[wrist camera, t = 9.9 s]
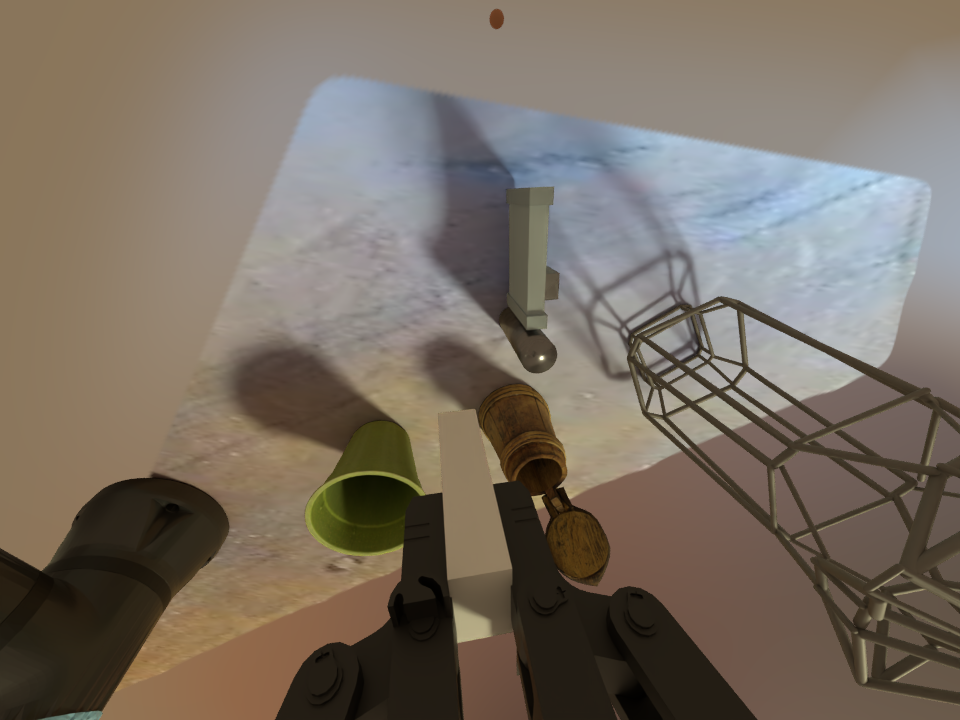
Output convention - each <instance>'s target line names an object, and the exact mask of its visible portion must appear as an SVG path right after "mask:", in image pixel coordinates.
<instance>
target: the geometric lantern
mask: <svg viewBox="0 0 960 720" xmlns="http://www.w3.org/2000/svg"><path fill="white" fill-rule="evenodd" d="M719 302H721V303H723V305H720V306H717V307H713V308H710V309H707V310H704V309H706V308H708V307H710V306H712V305H715V304H717V303H719ZM728 306H729V307H731V308H733V309H735V310H737V316H738V326H739V335H740V345H741V354H742V363H739V362H736V361H732V360H729V359H726V358H722V357H719V356H715V355H714V352H713V348H712V345H711V342H710V338H709V335H708V332H707V328H706V325H705V322H704V318H703V315H702V314H704V313H708V312H711V311H715V310H718V309H721V308H725V307H728ZM680 308H681V309H682V310H684V311H687V312H685V313H683V314H681V315H678V316H676V317H674V318H672V319H670V320H667V321H665V322H663V323H661V324H659V325H656V326H654V327H652V328H650V329H648V330H646V331H643V332H641V331H642V330H644V329H646V328H648V327H649V326H651V325H653V324H655V323H656V322H658V321H660V320H661V319H663V318H665V317H667V316H668V315H670V314H672V313H673V312H675V311H677V310H679V309H680ZM688 308H689V309H688ZM701 310H703V311H701ZM743 313H744V314H746V315H748V316H750V317H752V318H754V319H756V320H758V321H760V322H762V323H764V324H766V325H769V326H771V327H773V328H775V329H777V330H779V331H781V332H783V333H785V334H787V335H789V336H791V337H793V338H795V339H798V340H800V341H802V342H804V343H806V344H808V345H810V346H812V347H814V348H816V349H818V350H820V351H822V352H825V353H826V354H828V355H830V356H832V357H834V358H836V359H838V360H840V361H841V362H843V363H845V364H847V365H849V366H851V367H853V368H854V369H856V370H858V371H860V372H862V373H864V374H866V375H868V376H869V377H871V378H873V379H875V380H877V381H879V382H881V383H882V384H884V385H886V386H888V387H890V388H892V389H894V390H896V391H898V392H900V393H902V394H903V395H905V396H902V397H900V398H898V399H895V400H893V401H890V402H888V403H886V404H883V405H880V406H878V407H876V408H873V409H871V410H868V411H866V412H864V413H861V414H859V415H856V416H854V417H851V418H849V419H846V420H844V421H842V422H839V423H837V424H834V425H833V424H832V423H830V422H829V421H828V420H826V419H825V418H823V417H821V416H820V415H819V414H817V413H816V412H814V411H813V410H811V409H810V408H808V407H807V406H805V405H803V404H802V403H801V402H799V401H798V400H796V399H795V398H793V397H792V396H790V395H789V394H787V393H786V392H784V391H783V390H781V389H780V388H778V387H777V386H775V385H774V384H772V383H771V382H770V381H768V380H767V379H765V378H764V377H762V376H761V375H759V374H758V373H757V372H755V371H754V370H752V369H751V368H749V367H748V357H747V346H746V336H745V325H744V314H743ZM694 314H697V315H699V318H700V321H701V324H702V328H703V331H704V334H705V338H706V341H707V344H708V347H709V350H707V349H706V348H704V346H703V343H702V339H701V336H700V332H699V329H698V325H697V322H696V318H695V315H694ZM690 316H691V317H692V321H693V324H694V328H695V331H696V334H697V338H698V341H699V345H700V348H699V351H698V353H697V355H695V356H694V357H692V358H690V359H688V360H686V361H685V362H683V363H682V362H681V361H679V360H678V359H676V358H675V357H674V356H672V355H671V354H669V353H668V352H667V351H665V350H664V349H662V348H661V347H659V346H658V345H657V344H655V343H654V342H652V341H651V340H649V339H650V338H652V337H653V336H655V335H657V334H659V333H661V332H663V331H664V330H666V329H668V328H670V327H672V326H673V325H675V324H677V323H679V322H681V321H683V320H684V319H686V318H688V317H690ZM657 330H658V331H657ZM655 331H656V332H655ZM639 332H641V333H639ZM653 332H654V333H653ZM637 333H639V334H637ZM651 333H652V334H651ZM636 334H637V335H636ZM649 334H651V335H649ZM635 335H636V336H635ZM646 335H649V336H647V337H645V336H646ZM633 338H634V341H633ZM632 341H633V344H632ZM643 342H645V343H646V344H647V345H649V346H650V347H651V348H653V349H654V350H655V351H657V352H658V353H660V354H661V355H662V356H664V357H665V358H666V359H668V360H669V361H670V362H672V363H673V364H674V365H676V367H674V368H672V369H670V370H669V371H667V372H665V373H663V374H662V375H660V376H658V375H656V374H655V373H653V372H652V371H651V370H649V369H648V368H647V366H646V364H645V361H644V359H643V356H642V354H641V351H640V349H639V348H640V345H641V343H643ZM629 346H630V351H629V353H628V356H627V361H628V365H629V368H630V372H631V375H632V379H633V382H634V386H635V389H636V393H637V396H638V400H639V403H640V407H641V410H642V414H643V415H644V416H645V417H646V418H647V419H648V420H649V421H650V422H651V423H652V424H653V425H654V426H656V427H657V428H658V429H659V430H660V431H661V432H662V433H663V434H664V435H665V436H666V437H668V438H669V439H670V440H671V441H672V442H673V443H674V444H675V445H676V446H677V447H679V448H680V449H681V450H682V451H683V452H684V453H685V454H686V455H687V456H688V457H689V458H691V459H692V460H693V461H694V462H695V463H696V464H697V465H698V466H699V467H700V468H702V469H703V470H704V471H705V472H706V473H707V474H708V475H709V476H710V477H711V478H713V479H714V480H715V481H716V482H717V483H718V484H719V485H720V486H721V487H723V489H725V490H726V491H727V492H728V493H729V494H730V495H731V496H732V497H733V498H735V499H736V500H737V501H738V502H739V503H740V504H741V505H742V506H743V507H744V508H745V509H747V510H748V511H749V512H750V513H751V514H752V515H753V516H754V517H755V518H756V519H757V520H758V521H759V522H760V523H762V524H763V525H764V526H765V527H766V528H767V529H768V530H769V531H770V532H771V533H772V534H774V535H775V536H776V537H777V538H778V540H779V541H780V542H781V544H782V545H783V546H784V547H785V549H786V550H787V551H788V552H789V553H790V555H791V556H792V557H793V558H794V560H795V561H796V562H797V564H798V565H799V566H800V567H801V568H802V570H803V571H804V572H805V574H806V575H807V576H808V577H809V579H810V580H811V581H812V582H813V584H814V586H813V587H814V589H815V590H816V591H817V592H818V594H819V595H820V596H821V598H822V600H823V603H824V605H825V608H826V610H827V613H828V615H829V617H830V620H831V622H832V625H833V627H834V630H835V632H836V635H837V637H838V640H839V642H840V645H841V647H842V650H843V652H844V654H845V657H846V659H847V662H848V664H849V667H850V669H851V672H852V674H853V677H854V679H855V681H856V683H857V684H858V685H860V686H862V687H864V688H868V689H874V690H879V691H884V692H890V693H896V694H901V695H906V696H912V697H917V698H922V699H928V700H933V701H939V702H944V703H950V704H955V705H960V692H954V691H948V690H941V689H935V688H929V687H923V686H917V685H911V684H905V683H899V682H894V681H896V680H898V679H899V678H901V677H902V676H904V675H906V674H907V673H909V672H911V671H912V670H914V669H916V668H917V667H919V666H921V665H922V664H924V663H926V662H927V661H932V662H935V663H939V664H942V665H945V666H948V667H951V668H954V669H958V670H960V658H957V657H954V656H951V655H948V654H945V653H941V652H939V651H938V650H937V648H940V647H942V648H944V649H947V650H949V651H952V652H955V653H957V654H960V629H959V628H957V627H955V626H953V625H950V624H948V623H946V622H944V621H942V620H940V619H938V618H935V617H933V616H931V615H929V614H927V613H925V612H922V611H920V610H918V609H916V608H914V607H912V606H910V605H907V604H905V603H903V602H901V601H899V600H897V598H896V597H895V596H896V595H901V594H906V593H911V592H916V591H921V590H927V591H929V592H931V593H933V594H935V595H937V596H939V597H941V598H943V599H944V600H946V601H948V602H949V603H950V604H951V606H952V607H953V608H955V610H956V611H957V612H959V614H960V594H959V593H957V592H955V591H960V582H953V581H947V580H943V578H942V576H941V574H940V572H939V570H938V568H937V565H939V564H941V563H943V562H944V561H946V560H948V559H950V558H951V557H953V556H955V555H957V554H958V553H960V531H959V532H958V533H956V534H954V535H952V536H951V537H949V538H947V539H945V540H944V541H942V542H940V543H938V544H937V545H935V546H933V547H931V548H930V549H927V547H926V546H927V542H928V539H929V536H930V533H931V530H932V526H933V523H934V520H935V517H936V514H937V510H938V507H939V504H940V501H941V497H942V495H944V496H950V497H956V498H960V494H957V493H951V492H945V491H944V488H945V484H946V481H947V479H948V478H950V477H952V476H956V477H958V478H960V456H958V457H956V458H954V459H953V460H951V461H949V462H947V463H945V464H944V463H938V464H937V465H936V467H937V468H936V467H932V466H929V462H930V458H931V454H932V450H933V446H934V442H935V438H936V434H937V430H938V426H939V423H940V419H941V417H942V418H943V419H944V420H945V421H946V422H947V423H948V424H950V425H951V426H952V427H953V428H954V429H955V430H956V431H957V432H958V433H959V434H960V425H959V424H958V423H957V422H956V421H955V420H954V419H953V418H951V417H950V416H949V415H948V414H947V413H946V412H945V411H947V412H949V413H951V414H953V415H954V416H956V417H958V418H960V409H959V408H958V407H956V406H954V405H952V404H950V403H949V402H947V401H945V400H943V399H941V398H939V397H933V395H932V394H930V392H931V390H930V389H929V388H922V389H921V388H918V387H916V386H914V385H912V384H910V383H908V382H905V381H903V380H901V379H899V378H897V377H895V376H892V375H890V374H888V373H886V372H884V371H882V370H879V369H877V368H875V367H873V366H871V365H869V364H866V363H864V362H862V361H860V360H858V359H856V358H853V357H851V356H849V355H847V354H845V353H843V352H840V351H838V350H836V349H834V348H832V347H830V346H827V345H825V344H823V343H821V342H819V341H817V340H815V339H813V338H811V337H809V336H807V335H805V334H803V333H801V332H799V331H797V330H795V329H793V328H792V327H790V326H788V325H786V324H784V323H782V322H780V321H778V320H776V319H774V318H772V317H770V316H768V315H766V314H764V313H762V312H760V311H758V310H756V309H754V308H752V307H751V306H749V305H747V304H745V303H743V302H741V301H739V300H736V299H732V298H727V297H722V296H721V297H717V298H715V299H713V300H711V301H709V302H707V303H705V304H702V305H700V306H698V307H696V308H692V306H691V305H679V306H678V307H676V308H674V309H672V310H671V311H669V312H667V313H666V314H664V315H662V316H660V317H659V318H657V319H655V320H654V321H652V322H650V323H648V324H647V325H645V326H643V327H642V328H640V329H638V330H636V331H635V332H633V333H631V335H630V340H629ZM702 350H703V351H705V352H706V353H708V354H710V355H711V356H710V357H709V359H708V360H707V359H705V358H704V357H703V356H701V355H700V354H701V352H702ZM636 352H637V353H638V355H639V358H640V360H641V363H642V364H641V363H640V362H639V359H638V357H637V354H636ZM633 356H634V358H635V359H634V358H632V357H633ZM698 357H699V358H700V359H702V360H703V361H704V363H702V364H700V365H699V366H697V367H695V368H693V369H690V368H689V367H688V366H686V365H685V364H687V363H689V362H691V361H692V360H694V359H696V358H698ZM713 358H715V359H718V360H722V361H725V362H728V363H732V364H735V365H738V366H742V367H743V369H742V370H741V372H740V373H739V374H738V376H737V377H736V378H735V379H734V381H733V382H732V381H731V380H730V379H729V378H728V377H727V376H726V375H725V374H723V373H722V372H721V371H720V370H719V369H718V368H717V367H716V366H715V365H714V364H712V363H711V360H712V359H713ZM707 364H709V365H710V366H711V367H712V368H713V369H714V370H715V371H717V372H718V373H719V374H720V375H721V376H722V377H723V378H724V379H725V380H726V381H727V382H729V383H730V385H728V386H726V387H724V388H721V389H719V388H717V387H716V386H714V385H713V384H712V383H710V382H709V381H707V380H706V379H705V378H703V377H702V376H700V375H699V374H698V373H696V372H695V371H696V370H698V369H700V368H701V367H703V366H705V365H707ZM634 365H635V366H636V367H638V368H639V370H640V372H641V375H642V377H643V380H644V381H645V382H646V383H647V384H648V385H650V386H651V390H650V393H649V397H648V400H647V403H646V407H645V403H644V400H643V396H642V392H641V389H640V385H639V381H638V378H637V374H636V371H635V367H634ZM678 368H680V369H681V370H683V371H684V372H685V373H684V374H682V375H681V376H679V377H677V378H675V379H673V380H672V381H670V382H668V383H667V382H666V381H664V380H663V379H662V377H664V376H666V375H667V374H669V373H671V372H673V371H674V370H676V369H678ZM644 372H645V373H646V375H647V377H648V379H646V377H645V374H644ZM746 372H748V373H750V374H751V375H752V376H754V377H755V378H757V379H758V380H759V381H761V382H762V383H763V384H765V385H766V386H768V387H769V388H771V389H772V390H774V391H775V392H776V393H778V394H779V395H781V396H782V397H784V398H785V399H787V400H788V401H789V402H791V403H792V404H794V405H795V406H797V407H798V408H800V409H801V410H803V411H804V412H805V413H807V414H808V415H810V416H811V417H813V418H814V419H816V420H817V421H818V422H820V423H821V424H823V425H824V426H826V427H827V428H825V429H822V430H820V431H817V432H815V433H813V434H810V435H806V434H805V433H803V432H802V431H800V430H799V429H797V428H796V427H794V426H793V425H792V424H790V423H789V422H787V421H786V420H784V419H783V418H781V417H780V416H778V415H777V414H776V413H774V412H773V411H771V410H770V409H768V408H767V407H765V406H764V405H762V404H761V403H759V402H758V401H757V400H755V399H754V398H752V397H751V396H749V395H748V394H746V393H745V392H743V391H742V390H740V389H739V388H738V387H736V385H737V384H738V382H739V381H740V380H741V379H742V377H743V376H744V375H745V374H746ZM687 375H689V376H691V377H692V378H694V379H695V380H696V381H698V382H699V383H700V384H702V385H703V386H704V387H706V388H707V389H708V390H710V391H711V392H713V393H710V394H708V395H706V396H704V397H701V398H699V399H697V400H695V401H691V400H690V399H689V398H687V397H686V396H685V395H683V394H682V393H681V392H679V391H678V390H676V389H675V388H674V387H672V386H671V384H673V383H674V382H676V381H678V380H680V379H682V378H683V377H685V376H687ZM657 382H658V383H659V384H660V385H661V386H660V385H659V384H658V383H657ZM654 384H655V385H656V386H654ZM664 388H665V389H667V390H668V391H669V392H671V393H672V394H673V395H675V396H676V397H677V398H678V399H680V400H681V401H682V402H684V403H685V404H686V405H684V406H682V407H679V408H677V409H675V410H673V411H671V412H668V413H666V411H665V406H664V401H663V396H662V392H661V390H662V389H664ZM654 389H657V390H658V393H659V398H660V403H661V408H662V413H663V415H658V414H653V413H649V412H648V408H649V405H650V401H651V398H652V395H653V391H654ZM730 389H732V390H734V391H735V392H737V393H738V394H739V395H741V396H742V397H744V398H745V399H746V400H748V401H749V402H751V403H752V404H754V405H755V406H756V407H758V408H759V409H761V410H762V411H763V412H765V413H766V414H768V415H769V416H771V417H772V418H773V419H775V420H776V421H778V422H779V423H780V424H782V425H783V426H785V427H786V428H788V429H789V430H790V431H792V432H793V433H795V434H796V435H797V436H799V437H800V439H798V440H796V441H794V442H793V441H791V440H790V439H789V438H787V437H786V436H785V435H783V434H782V433H780V432H779V431H778V430H776V429H775V428H773V427H772V426H771V425H769V424H768V423H766V422H765V421H764V420H762V419H761V418H760V417H758V416H757V415H755V414H754V413H753V412H751V411H750V410H748V409H747V408H745V407H744V406H743V405H741V404H740V403H738V402H737V401H736V400H734V399H733V398H731V397H730V396H729V395H727V394H726V393H724V392H726V391H728V390H730ZM715 396H718V397H719V398H721V399H722V400H723V401H725V402H726V403H727V404H729V405H730V406H732V407H733V408H734V409H736V410H737V411H738V412H740V413H741V414H742V415H744V416H745V417H747V418H748V419H749V420H751V421H752V422H753V423H755V424H756V425H758V426H759V427H760V428H762V429H763V430H765V431H766V432H767V433H769V434H770V435H772V436H773V437H774V438H776V439H777V440H779V441H780V442H781V443H783V444H784V445H786V446H787V447H788V448H787V449H786V450H784V451H783V452H782V453H781V454H779V455H778V456H777V457H776V458H774V459H773V460H771V459H769V458H768V457H767V456H765V455H764V454H763V453H761V452H760V451H759V450H757V449H756V448H755V447H753V446H752V445H751V444H749V443H748V442H747V441H745V440H744V439H743V438H741V437H740V436H739V435H737V434H736V433H734V432H733V431H732V430H731V429H729V428H728V427H727V426H725V425H724V424H722V423H721V422H720V421H718V420H717V419H716V418H714V417H713V416H712V415H710V414H709V413H708V412H706V411H705V410H704V409H702V408H701V407H699V406H698V405H697V404H699V403H702V402H704V401H706V400H708V399H710V398H713V397H715ZM911 400H915V401H917V402H919V403H920V404H922V405H924V406H926V407H928V408H930V409H933V412H932V416H931V420H930V425H929V429H928V433H927V438H926V442H925V446H924V450H923V454H922V459H921V463H920V464H915V463H909V462H904V461H898V460H892V459H887V458H883V457H881V456H880V455H878V454H877V453H875V452H874V451H872V450H871V449H869V448H868V447H866V446H864V445H863V444H862V443H860V442H859V441H857V440H856V439H854V438H853V437H851V436H850V435H848V434H847V433H845V432H844V431H842V430H841V429H842V428H844V427H847V426H849V425H852V424H854V423H857V422H859V421H862V420H864V419H866V418H869V417H871V416H874V415H876V414H879V413H881V412H884V411H886V410H889V409H891V408H893V407H896V406H898V405H901V404H903V403H906V402H908V401H911ZM688 408H691V409H693V410H694V411H695V412H697V413H698V414H699V415H701V416H702V417H703V418H705V419H706V420H707V421H708V422H710V423H711V424H712V425H714V426H715V427H716V428H718V429H719V430H720V431H721V432H723V433H724V434H726V435H727V436H728V437H730V438H731V439H732V440H733V441H734V442H736V443H737V444H738V445H740V446H741V447H742V448H744V449H745V450H746V451H747V452H749V453H750V454H751V455H753V456H754V457H755V458H757V459H758V460H759V461H760V462H762V463H763V464H764V465H766V466H767V473H768V487H769V502H770V515H768V514H767V513H766V512H765V511H764V510H763V509H762V508H761V507H760V506H759V505H758V504H757V503H756V502H755V501H754V500H753V499H752V498H751V497H750V496H749V495H747V493H746V492H745V491H743V490H742V489H741V488H740V487H739V486H738V485H737V484H736V483H735V482H734V481H733V480H732V479H731V478H730V477H729V476H728V475H727V474H726V473H725V472H724V471H723V470H722V469H721V468H719V467H718V466H717V465H716V464H715V463H714V462H713V461H712V460H711V459H710V458H709V457H708V456H707V455H706V454H705V453H704V452H703V451H702V450H701V449H700V448H699V447H698V446H697V445H695V444H694V443H693V442H692V441H691V440H690V439H689V438H688V437H687V436H686V435H685V434H684V433H683V432H682V431H681V430H680V429H679V428H678V427H677V426H676V425H675V424H674V423H673V422H672V421H671V420H670V419H669V418H668V417H671V416H673V415H675V414H677V413H679V412H682V411H684V410H686V409H688ZM943 410H945V411H943ZM654 418H657V419H663V420H664V421H665V422H666V423H667V424H668V425H669V426H670V427H671V428H672V429H673V430H674V431H675V432H676V433H677V434H678V435H679V436H680V437H681V438H682V439H683V440H684V441H685V442H686V443H687V444H688V445H689V446H690V447H691V448H692V449H694V451H696V452H697V453H698V454H699V456H701V457H702V458H703V459H704V460H705V461H706V462H707V463H708V464H709V465H710V466H711V467H712V468H713V469H714V470H715V471H716V472H717V473H718V474H719V475H720V476H721V477H722V478H723V479H724V480H725V481H726V482H727V483H728V484H729V485H730V486H731V487H732V488H733V489H734V490H733V489H732V488H731V487H730V486H729V485H728V484H727V483H726V482H724V481H723V480H722V479H721V478H720V477H719V476H717V474H715V473H714V472H713V471H712V470H711V469H710V468H709V467H708V466H706V465H705V464H704V463H703V462H702V461H701V460H700V459H699V458H697V457H696V456H695V455H694V454H693V453H692V452H691V451H689V450H688V449H687V448H686V447H685V446H684V445H683V444H682V443H681V442H679V441H678V440H677V439H676V438H675V437H674V436H673V435H672V434H670V433H669V432H668V431H667V430H666V429H665V428H664V427H663V426H661V425H660V424H659V423H658V422H657V421H656V420H655V419H654ZM833 432H834V433H836V434H837V435H839V436H840V437H841V438H843V439H844V440H846V441H847V442H849V443H850V444H852V445H853V446H854V447H856V448H858V449H859V450H860V451H862V452H863V453H865V454H866V455H863V454H858V453H852V452H846V451H841V450H835V449H829V448H825V447H824V446H822V445H821V444H819V443H818V442H816V441H815V439H818V438H820V437H823V436H825V435H828V434H830V433H833ZM806 443H809V444H810V445H806ZM799 451H803V452H808V453H813V454H819V455H824V456H827V457H829V458H830V459H832V460H833V461H835V462H836V463H837V464H839V465H840V466H841V467H843V468H844V469H846V470H847V471H849V472H850V473H851V474H853V475H854V476H856V477H857V478H859V479H860V480H862V481H863V482H864V483H866V484H867V485H869V486H870V487H871V488H873V489H874V490H876V491H877V492H879V493H880V494H881V495H883V496H884V497H885V498H883V499H880V500H878V501H875V502H873V503H870V504H868V505H865V506H863V507H860V508H858V509H855V510H853V511H850V512H848V513H845V514H843V515H840V516H838V517H835V518H833V519H831V520H828V521H826V522H823V523H820V524H818V525H815V526H814V524H813V522H812V520H811V519H810V516H809V514H808V512H807V510H806V508H805V506H804V504H803V502H802V500H801V498H800V497H799V494H798V493H797V490H796V488H795V486H794V485H793V482H792V481H791V479H790V477H789V475H788V473H787V471H786V469H785V467H784V465H783V464H784V463H785V462H787V461H788V460H789V459H791V458H792V457H793V456H795V455H796V454H797V453H798V452H799ZM843 459H846V460H850V461H855V462H861V463H866V464H871V465H876V466H881V467H885V468H887V469H888V470H889V471H891V472H892V473H894V474H895V475H897V476H898V477H899V478H901V479H902V480H904V481H905V483H904V484H902V485H901V486H900V487H898V488H897V489H895V490H894V491H892V492H888V491H887V490H886V489H884V488H882V487H881V486H880V485H878V484H877V483H876V482H874V481H873V480H871V479H870V478H869V477H867V476H866V475H864V474H863V473H861V472H859V470H857V469H856V468H854V467H853V466H851V465H850V464H848V463H847V462H846V461H844V460H843ZM777 468H780V470H781V472H782V475H783V477H784V478H785V480H786V483H787V485H788V487H789V488H790V491H791V493H792V495H793V497H794V499H795V500H796V502H797V505H798V507H799V509H800V511H801V512H802V515H803V517H804V519H805V521H806V523H807V525H808V527H809V528H808V529H805V530H803V531H800V532H798V533H795V534H793V535H789V534H788V533H787V532H786V531H785V530H784V529H783V528H782V527H781V526H780V525H779V524H778V523H777V510H776V493H775V475H774V474H775V473H774V469H777ZM903 471H908V472H913V473H918V476H917V480H918V481H920V482H924V481H925V478H926V475H929V477H928V480H927V483H926V486H925V488H920V487H916V486H917V485H918V482H917V481H916V480H915V479H914V478H913V477H911V476H910V475H908V474H907V473H905V472H903ZM911 490H915V491H920V492H923V495H922V498H921V501H920V504H919V506H918V510H917V512H916V515H915V519H914V521H913V520H912V518H911V516H910V514H909V512H908V510H907V508H906V506H905V505H904V503H903V500H902V499H901V497H902V496H904V495H905V494H906V493H908V492H909V491H911ZM892 501H894V503H895V505H896V507H897V509H898V511H899V513H900V515H901V517H902V519H903V521H904V523H905V525H906V527H907V529H908V531H909V536H908V539H907V542H906V544H905V547H904V550H903V553H902V556H901V560H900V562H899V564H895V565H893V566H892V567H890V568H889V569H887V570H886V571H884V572H883V573H881V574H880V575H878V576H877V577H875V578H874V579H872V580H870V579H868V578H867V577H865V576H863V575H861V574H859V573H857V572H855V571H853V570H851V569H849V568H848V567H846V566H844V565H842V564H840V563H838V562H836V561H834V560H832V559H830V556H829V554H828V552H827V550H826V548H825V546H824V544H823V542H822V540H821V538H820V536H819V534H818V532H817V531H819V530H822V529H824V528H826V527H829V526H831V525H834V524H837V523H839V522H842V521H844V520H847V519H849V518H852V517H854V516H857V515H859V514H862V513H864V512H867V511H869V510H872V509H874V508H877V507H879V506H882V505H884V504H887V503H889V502H892ZM811 533H812V535H813V537H814V539H815V541H816V543H817V545H818V547H819V549H820V551H821V553H822V554H821V553H819V552H817V551H815V550H813V549H811V548H809V547H808V546H806V545H804V544H802V543H800V542H798V541H796V539H799V538H801V537H804V536H806V535H809V534H811ZM789 541H790V542H792V543H794V544H796V545H798V546H799V547H801V548H803V549H805V550H807V551H809V552H811V553H813V554H815V555H816V556H817V557H812V558H811V559H810V560H811V562H812V563H813V564H814V569H815V572H814V571H813V570H812V569H811V568H810V566H809V565H808V564H807V563H806V562H805V561H804V559H803V558H802V557H801V556H800V554H799V553H798V552H797V551H796V550H795V549H794V547H793V546H792V545H791V544H790V543H789ZM842 569H843V570H842ZM844 570H845V571H844ZM927 571H929V573H930V575H931V577H932V578H929V577H927V576H925V575H923V573H925V572H927ZM851 574H852V575H851ZM899 574H900V575H901V576H902V577H903V578H905V579H907V580H909V581H911V582H908V583H902V584H897V585H893V586H888V587H884V586H882V585H883V584H885V583H886V582H888V581H889V580H891V579H893V578H894V577H896V576H897V575H899ZM853 575H854V576H853ZM855 576H856V577H855ZM827 577H828V578H829V579H830V580H831V581H832V582H833V583H834V584H835V585H836V586H837V587H838V588H839V589H840V590H841V591H842V592H843V593H844V594H845V595H847V596H848V597H849V598H850V599H851V600H852V601H853V602H854V603H855V604H856V605H857V606H858V607H859V609H858V611H857V613H856V615H855V617H854V619H853V622H854V625H855V626H856V627H855V626H854V625H853V623H852V622H851V621H850V620H849V619H848V618H847V617H846V616H845V614H844V613H843V612H842V611H841V610H840V609H839V607H838V606H837V605H836V604H835V603H834V600H833V598H832V595H831V593H830V590H829V588H828V578H827ZM857 577H858V578H857ZM859 578H860V579H862V580H864V581H865V582H864V581H862V580H860V579H859ZM839 579H840V580H841V581H840V580H839ZM842 581H843V582H845V583H846V584H848V585H849V586H851V587H853V588H854V589H856V590H858V591H859V592H861V593H862V594H864V595H866V596H865V597H864V599H863V601H862V600H861V599H860V598H859V597H858V596H857V595H856V594H855V593H853V592H852V591H851V590H850V589H849V588H848V587H847V586H846V585H845V584H844V583H843V582H842ZM866 582H867V583H866ZM877 588H878V589H880V590H881V592H880V591H879V590H878V589H877ZM892 605H894V606H896V607H897V608H898V609H899V610H900V611H901V613H902V614H903V615H902V614H900V613H897V612H894V611H892V609H891V608H892ZM910 613H911V614H913V615H915V616H917V617H919V618H921V619H923V620H926V621H928V622H930V623H932V624H934V625H936V626H938V627H940V628H943V629H945V630H947V631H949V632H946V631H944V630H941V629H939V628H936V627H933V626H931V625H928V624H926V623H923V622H920V621H918V620H916V619H915V618H914V617H913V616H912V615H911V614H910ZM872 618H873V619H875V620H877V629H876V633H875V632H872V631H868V630H865V629H866V628H867V626H868V624H869V623H870V621H871V619H872ZM890 622H893V623H895V624H898V625H900V626H903V627H905V628H908V629H910V630H913V631H915V632H918V633H920V634H921V635H922V636H923V637H924V638H925V640H927V642H928V645H925V646H923V647H922V646H918V645H915V644H912V643H908V642H905V641H901V640H898V639H895V638H892V637H889V629H890ZM843 623H844V624H845V626H846V627H847V628H848V629H849V630H850V631H851V637H852V644H851V642H850V639H849V637H848V634H847V632H846V630H845V627H844V625H843ZM865 640H866V641H869V642H873V643H875V646H874V655H873V663H872V672H871V676H872V677H870V678H869V677H868V669H867V656H866V643H865ZM852 646H853V647H852ZM888 647H889V648H892V649H895V650H898V651H901V652H904V653H907V654H910V655H909V656H907V657H905V658H904V659H902V660H901V661H899V662H897V663H896V664H894V665H893V666H891V667H889V668H888V669H886V670H885V668H886V657H887V649H888Z"/></svg>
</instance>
